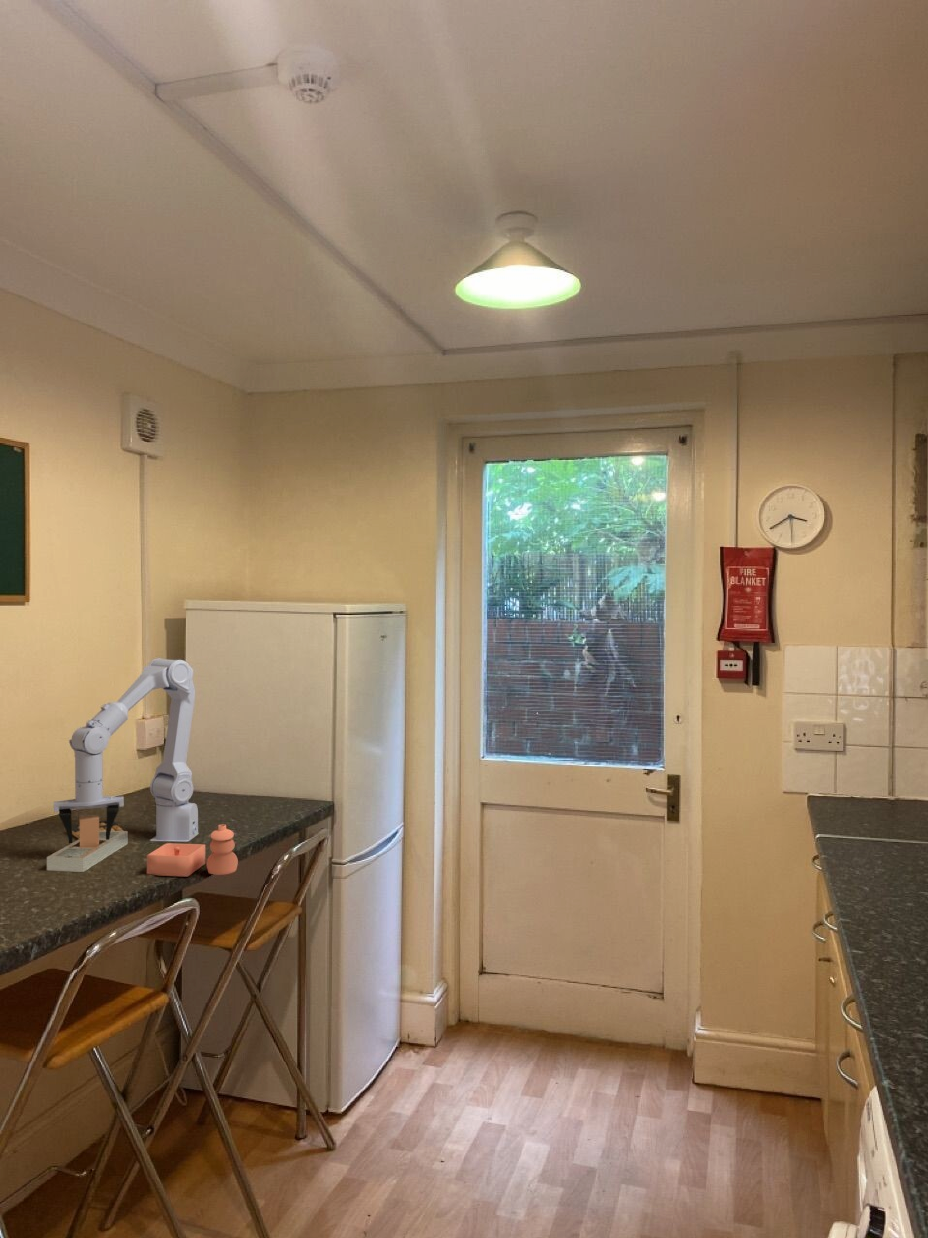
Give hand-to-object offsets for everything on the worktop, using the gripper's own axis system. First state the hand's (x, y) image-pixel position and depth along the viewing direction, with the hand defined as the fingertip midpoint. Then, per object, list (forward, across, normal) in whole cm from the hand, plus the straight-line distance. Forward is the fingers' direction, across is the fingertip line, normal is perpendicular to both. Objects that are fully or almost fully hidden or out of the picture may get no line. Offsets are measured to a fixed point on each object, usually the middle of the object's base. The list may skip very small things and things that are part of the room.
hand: (89, 840), depth 203 cm
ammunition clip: (+3, 0, -24) cm, 24 cm away
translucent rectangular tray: (+4, 0, 0) cm, 4 cm away
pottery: (+4, -21, +18) cm, 28 cm away
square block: (+4, 0, 0) cm, 4 cm away
